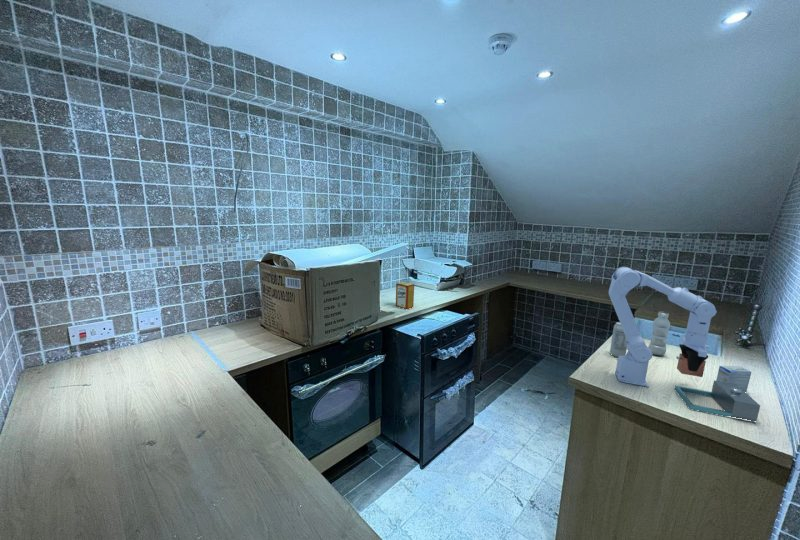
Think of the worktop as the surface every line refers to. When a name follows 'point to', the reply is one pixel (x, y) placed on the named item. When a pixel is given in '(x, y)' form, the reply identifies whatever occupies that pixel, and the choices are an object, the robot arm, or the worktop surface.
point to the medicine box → (734, 376)
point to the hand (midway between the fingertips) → (689, 367)
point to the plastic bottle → (660, 334)
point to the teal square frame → (724, 400)
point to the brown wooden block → (684, 368)
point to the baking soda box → (404, 295)
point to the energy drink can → (618, 341)
